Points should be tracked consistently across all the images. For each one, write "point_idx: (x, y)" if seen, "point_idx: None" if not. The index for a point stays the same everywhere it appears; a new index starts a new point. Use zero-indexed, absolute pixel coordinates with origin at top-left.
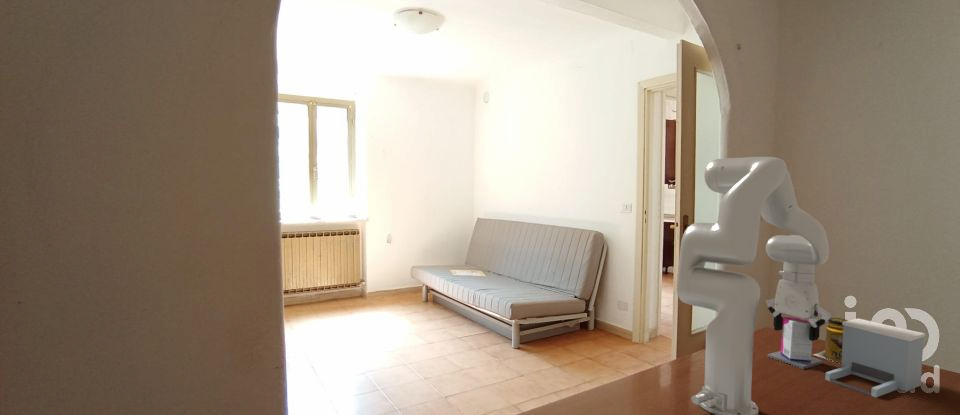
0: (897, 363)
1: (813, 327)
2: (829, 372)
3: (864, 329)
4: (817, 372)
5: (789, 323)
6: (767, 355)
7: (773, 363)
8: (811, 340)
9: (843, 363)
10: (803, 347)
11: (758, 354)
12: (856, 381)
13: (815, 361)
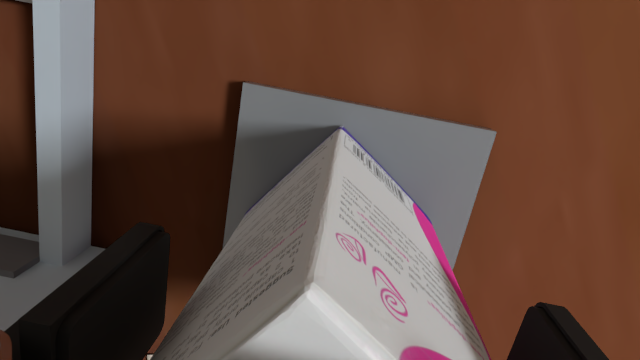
0: None
1: (27, 344)
2: (48, 16)
3: None
4: (177, 102)
5: (384, 317)
6: (491, 129)
7: (416, 23)
8: (145, 224)
9: None
10: (258, 218)
11: (551, 130)
12: (5, 139)
13: None
